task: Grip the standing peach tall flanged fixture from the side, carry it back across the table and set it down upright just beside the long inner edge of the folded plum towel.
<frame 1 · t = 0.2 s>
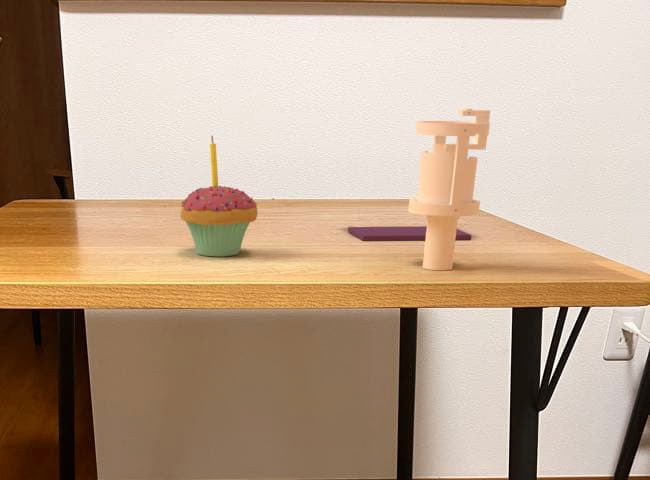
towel: (408, 235, 113), on the table
peach tall flanged fixture: (437, 269, 92), on the table
cupcake: (219, 255, 99), on the table
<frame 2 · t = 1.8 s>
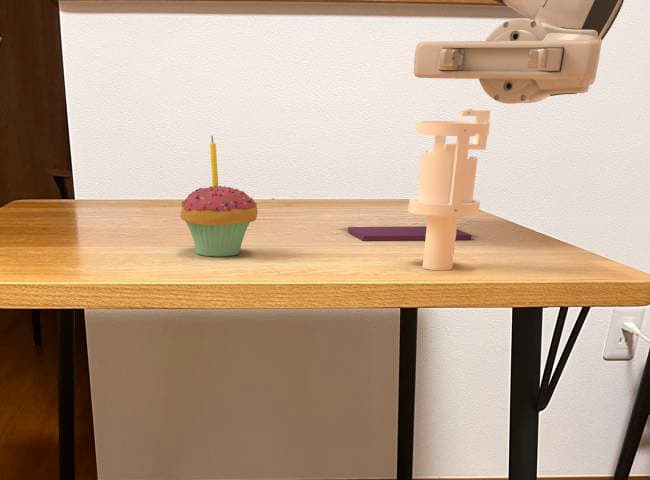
hand: (490, 58, 93), 20 cm above the table, tool horizontal, fingers open, 8 cm apart
nothing on the table moved.
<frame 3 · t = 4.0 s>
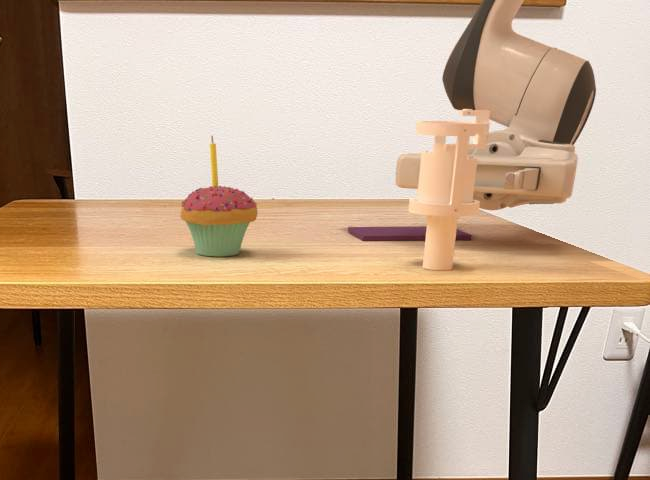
hand: (468, 178, 95), 8 cm above the table, tool horizontal, fingers open, 8 cm apart
nothing on the table moved.
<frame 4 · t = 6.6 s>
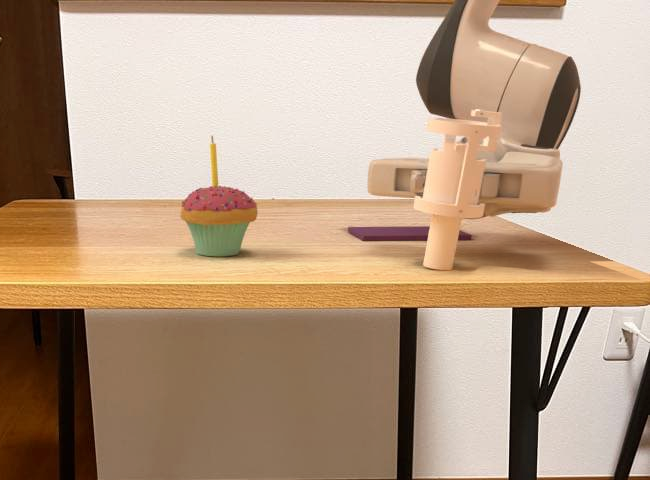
hand: (443, 186, 88), 8 cm above the table, tool horizontal, fingers closed on peach tall flanged fixture, 4 cm apart
peach tall flanged fixture: (437, 268, 92), on the table, touching gripper
everything else where it was.
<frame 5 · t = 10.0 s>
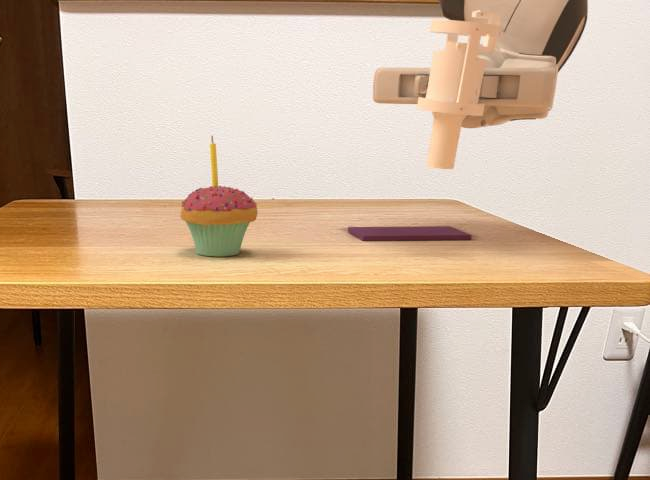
hand: (445, 86, 93), 17 cm above the table, tool horizontal, fingers closed on peach tall flanged fixture, 4 cm apart
peach tall flanged fixture: (439, 168, 97), point 9 cm above the table, touching gripper
everything else where it was.
when the fingers open (8 cm above the table, at t = 13.4 s): peach tall flanged fixture stays where it is, on the table.
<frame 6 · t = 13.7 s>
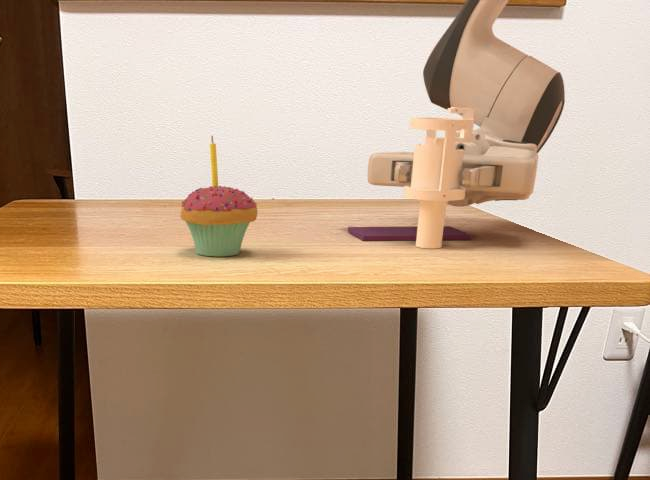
hand: (433, 176, 101), 8 cm above the table, tool horizontal, fingers open, 7 cm apart
peach tall flanged fixture: (428, 248, 105), on the table
everything else where it was.
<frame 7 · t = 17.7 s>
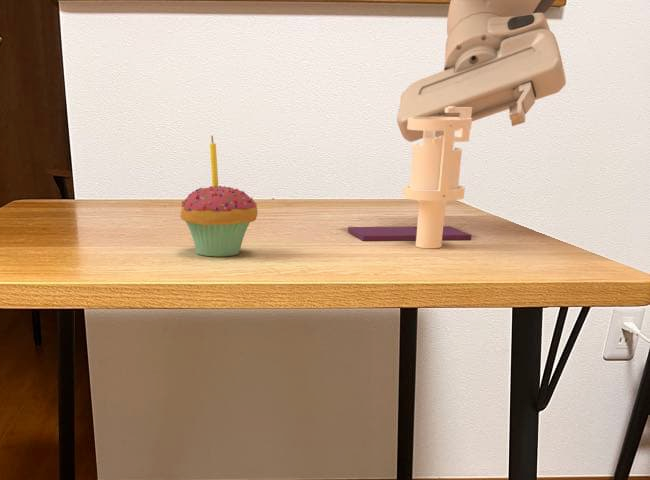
hand: (477, 133, 105), 12 cm above the table, tool tilted 55°, fingers open, 8 cm apart
nothing on the table moved.
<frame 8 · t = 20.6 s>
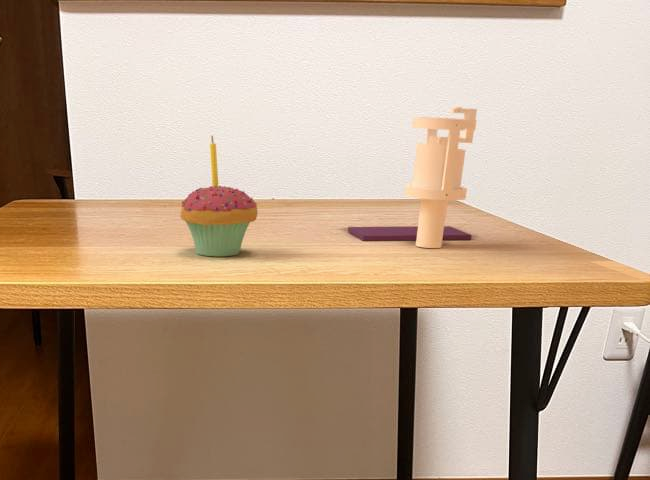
nothing on the table moved.
at the end: peach tall flanged fixture inside the target area on the table beside the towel (0.1 cm from its centre), on the table; peach tall flanged fixture tilted 2°; the gripper is holding nothing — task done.
